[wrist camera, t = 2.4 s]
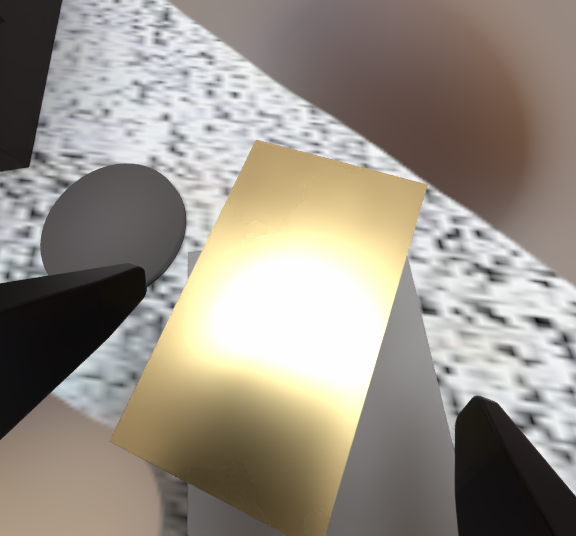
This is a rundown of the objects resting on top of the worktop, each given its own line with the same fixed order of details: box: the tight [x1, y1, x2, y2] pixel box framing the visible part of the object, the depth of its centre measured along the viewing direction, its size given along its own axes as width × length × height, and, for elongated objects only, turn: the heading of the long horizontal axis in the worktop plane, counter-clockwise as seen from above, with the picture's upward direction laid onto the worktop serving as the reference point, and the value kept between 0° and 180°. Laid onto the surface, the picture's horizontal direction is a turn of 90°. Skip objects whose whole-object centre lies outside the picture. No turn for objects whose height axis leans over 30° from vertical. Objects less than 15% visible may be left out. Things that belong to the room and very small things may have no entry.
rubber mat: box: [40, 164, 186, 286], centre depth 18 cm, size 9×9×1 cm
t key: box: [110, 140, 427, 536], centre depth 10 cm, size 6×4×11 cm, turn 159°
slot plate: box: [187, 251, 458, 536], centre depth 13 cm, size 18×11×2 cm, turn 6°
